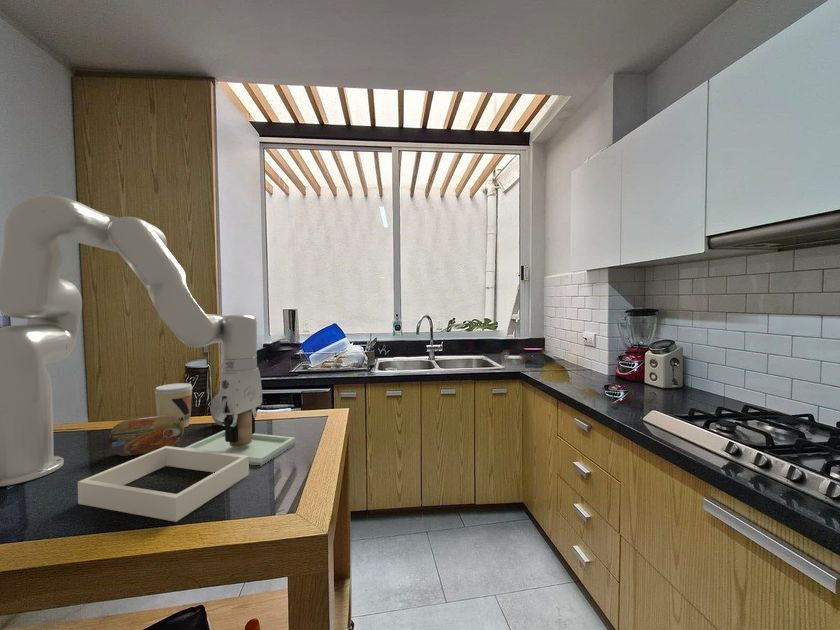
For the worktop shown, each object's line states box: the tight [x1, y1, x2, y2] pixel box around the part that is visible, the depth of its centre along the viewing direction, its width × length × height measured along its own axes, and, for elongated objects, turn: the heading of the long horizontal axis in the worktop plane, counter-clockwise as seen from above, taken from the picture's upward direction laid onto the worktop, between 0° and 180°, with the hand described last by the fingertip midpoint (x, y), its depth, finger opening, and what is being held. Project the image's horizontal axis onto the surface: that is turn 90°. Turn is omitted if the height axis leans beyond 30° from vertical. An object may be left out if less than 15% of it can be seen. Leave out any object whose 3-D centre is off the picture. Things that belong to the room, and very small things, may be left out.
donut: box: [209, 393, 224, 427], centre depth 106 cm, size 10×4×10 cm, turn 65°
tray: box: [184, 430, 296, 467], centre depth 88 cm, size 22×13×2 cm, turn 76°
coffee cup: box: [154, 382, 194, 428], centre depth 105 cm, size 9×9×12 cm
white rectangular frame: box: [77, 446, 250, 523], centre depth 69 cm, size 22×17×4 cm
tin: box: [106, 415, 185, 457], centre depth 87 cm, size 15×3×8 cm, turn 114°
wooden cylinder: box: [229, 409, 252, 447], centre depth 88 cm, size 5×5×8 cm
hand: (240, 436), depth 88 cm, fingers closed on wooden cylinder, 5 cm apart
